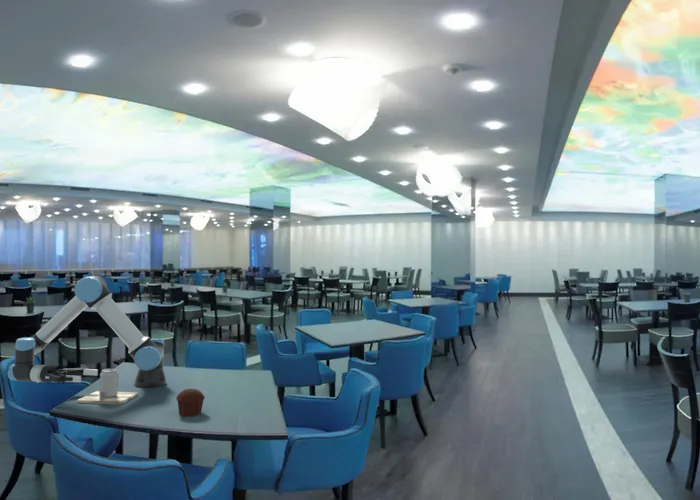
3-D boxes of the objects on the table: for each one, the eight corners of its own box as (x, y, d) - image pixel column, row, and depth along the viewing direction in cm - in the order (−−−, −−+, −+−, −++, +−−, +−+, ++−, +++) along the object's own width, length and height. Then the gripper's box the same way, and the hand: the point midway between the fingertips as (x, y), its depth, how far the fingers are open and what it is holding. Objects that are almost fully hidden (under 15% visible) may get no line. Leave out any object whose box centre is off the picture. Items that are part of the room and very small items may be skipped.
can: (121, 395, 235) (122, 368, 235) (108, 399, 228) (109, 372, 228) (108, 393, 237) (109, 367, 238) (95, 397, 230) (96, 370, 231)
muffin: (209, 411, 219) (210, 387, 219) (195, 418, 208) (196, 394, 208) (184, 408, 222) (185, 385, 222) (169, 415, 211) (170, 391, 211)
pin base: (97, 393, 241) (97, 384, 241) (138, 395, 240) (138, 386, 240) (76, 402, 225) (77, 393, 225) (121, 404, 224) (121, 395, 224)
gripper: (60, 375, 247) (103, 377, 246) (25, 388, 222) (72, 390, 221) (61, 360, 247) (104, 362, 246) (25, 371, 222) (73, 373, 221)
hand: (89, 375), depth 233 cm, fingers open, 13 cm apart
